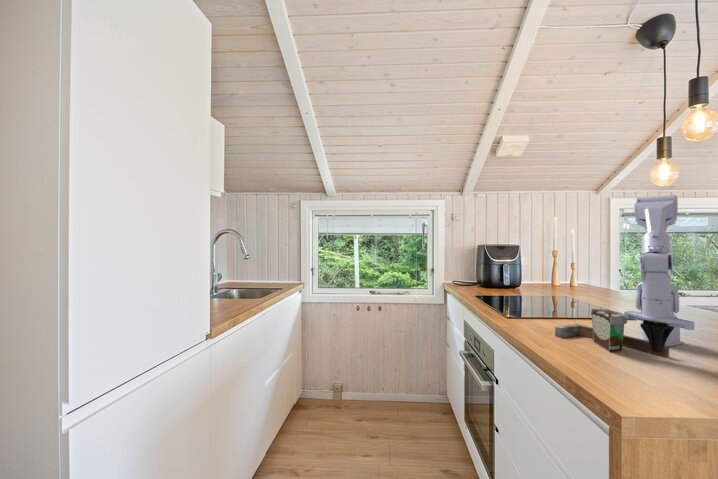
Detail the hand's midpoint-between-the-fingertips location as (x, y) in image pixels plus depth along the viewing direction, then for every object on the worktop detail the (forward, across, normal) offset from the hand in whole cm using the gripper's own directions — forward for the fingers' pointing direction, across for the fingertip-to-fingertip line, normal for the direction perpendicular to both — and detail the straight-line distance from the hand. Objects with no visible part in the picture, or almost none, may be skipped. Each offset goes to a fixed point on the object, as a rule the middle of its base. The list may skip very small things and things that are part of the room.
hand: (657, 351), depth 89 cm
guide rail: (+2, -13, 0) cm, 13 cm away
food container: (+2, -11, 0) cm, 11 cm away
